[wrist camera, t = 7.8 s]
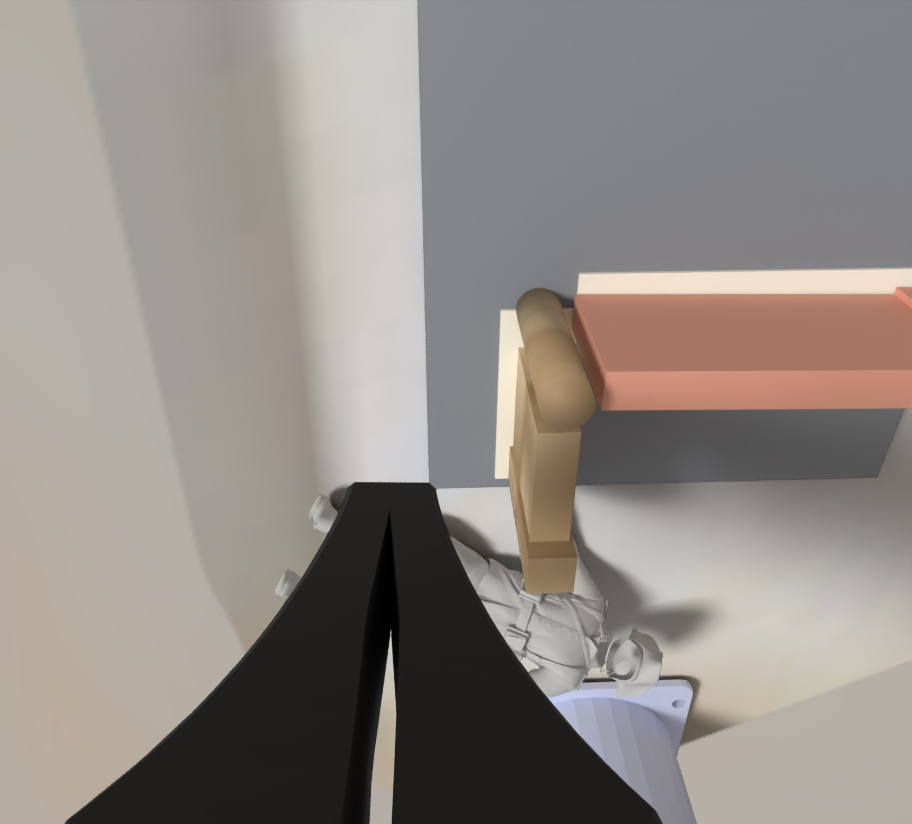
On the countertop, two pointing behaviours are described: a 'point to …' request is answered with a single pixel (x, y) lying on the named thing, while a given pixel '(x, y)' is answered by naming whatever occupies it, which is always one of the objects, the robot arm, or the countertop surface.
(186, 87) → the countertop surface
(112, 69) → the countertop surface
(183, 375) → the countertop surface
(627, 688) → the soldier figure
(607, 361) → the fence panel
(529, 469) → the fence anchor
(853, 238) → the board
